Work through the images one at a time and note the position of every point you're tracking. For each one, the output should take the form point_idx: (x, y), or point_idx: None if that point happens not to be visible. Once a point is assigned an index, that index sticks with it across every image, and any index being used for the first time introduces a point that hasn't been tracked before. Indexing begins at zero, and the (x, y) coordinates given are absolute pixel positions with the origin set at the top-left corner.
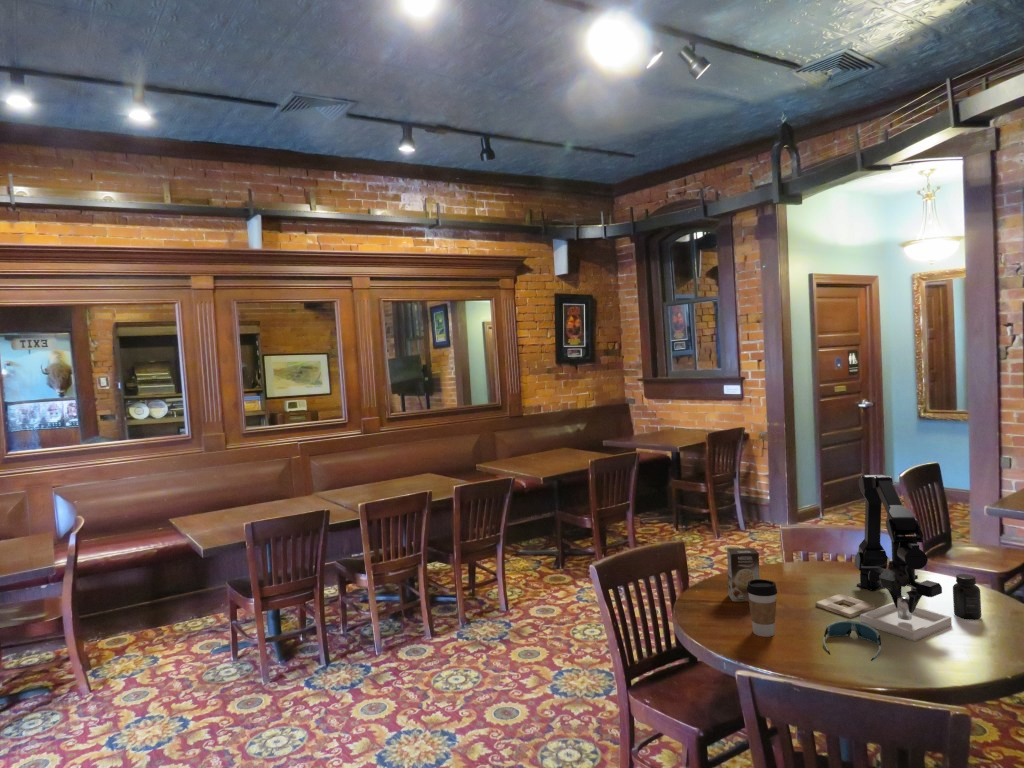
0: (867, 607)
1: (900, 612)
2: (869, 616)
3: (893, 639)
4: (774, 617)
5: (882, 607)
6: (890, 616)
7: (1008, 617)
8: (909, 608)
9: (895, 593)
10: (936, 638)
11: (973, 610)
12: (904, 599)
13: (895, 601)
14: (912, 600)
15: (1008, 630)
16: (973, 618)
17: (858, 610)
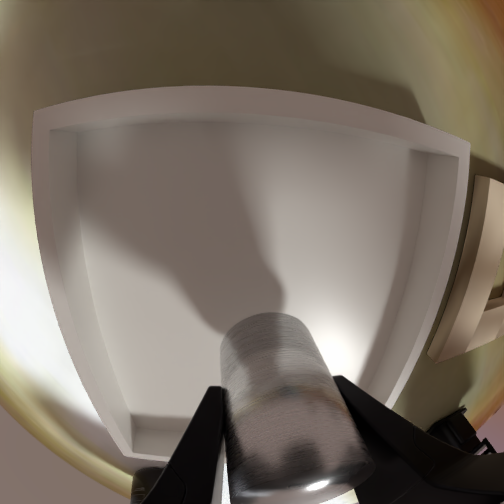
0: (456, 318)
1: (286, 346)
2: (436, 209)
3: (171, 39)
4: None
5: (414, 351)
6: (358, 335)
7: (124, 492)
8: (218, 413)
9: (400, 479)
10: (43, 271)
11: (132, 495)
12: (272, 481)
13: (369, 414)
14: (159, 498)
15: (59, 451)
16: (135, 474)
17: (478, 254)
